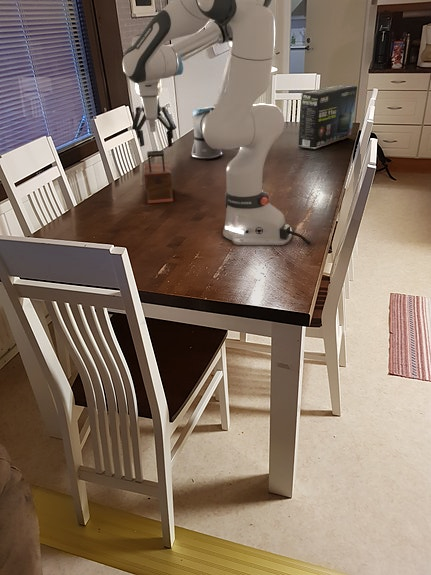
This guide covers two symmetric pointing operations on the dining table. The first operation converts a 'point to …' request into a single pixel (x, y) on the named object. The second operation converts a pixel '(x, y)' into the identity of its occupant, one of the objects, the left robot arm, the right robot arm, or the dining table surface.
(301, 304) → the dining table surface
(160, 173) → the lid
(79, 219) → the dining table surface
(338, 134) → the router box
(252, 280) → the dining table surface
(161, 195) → the chest
